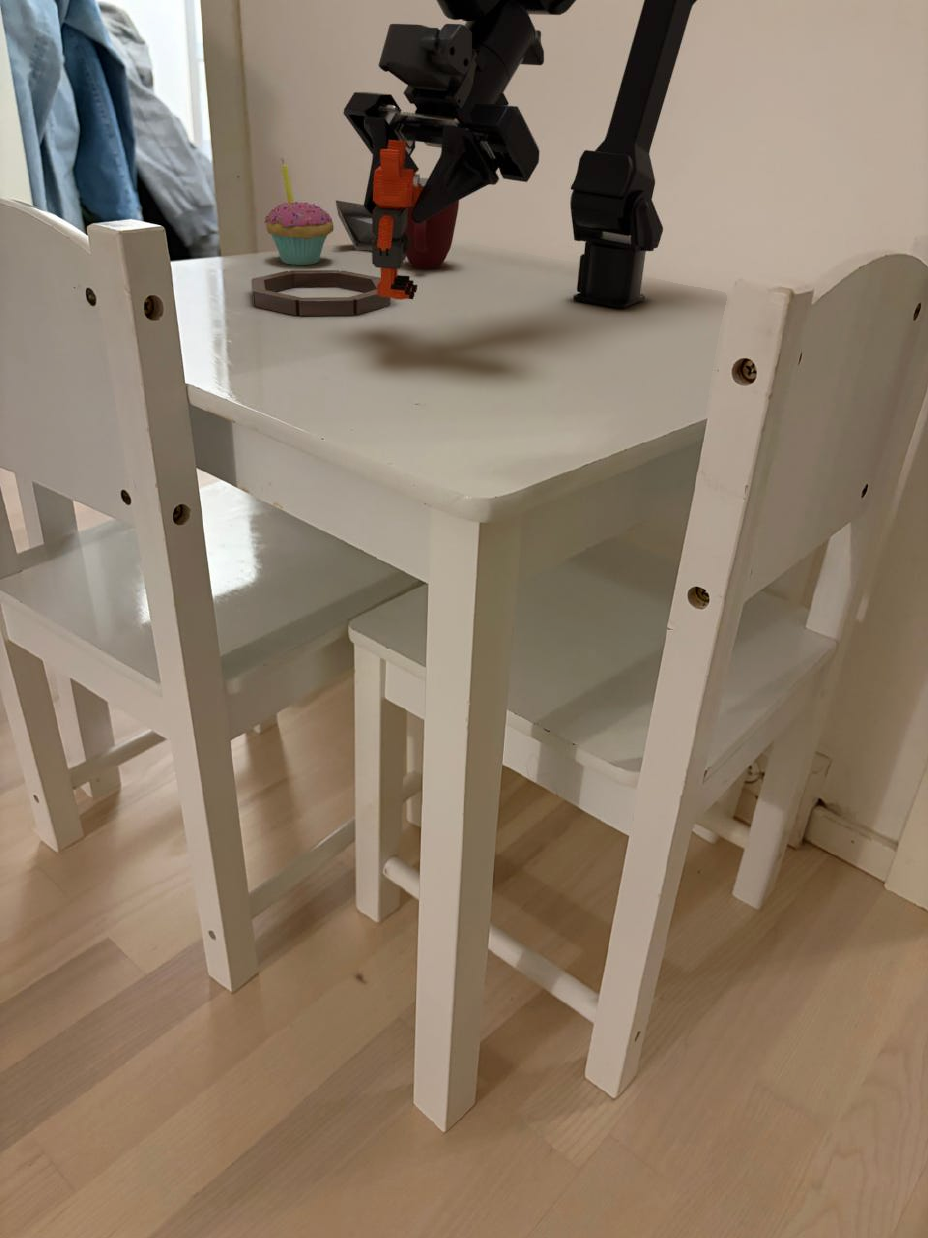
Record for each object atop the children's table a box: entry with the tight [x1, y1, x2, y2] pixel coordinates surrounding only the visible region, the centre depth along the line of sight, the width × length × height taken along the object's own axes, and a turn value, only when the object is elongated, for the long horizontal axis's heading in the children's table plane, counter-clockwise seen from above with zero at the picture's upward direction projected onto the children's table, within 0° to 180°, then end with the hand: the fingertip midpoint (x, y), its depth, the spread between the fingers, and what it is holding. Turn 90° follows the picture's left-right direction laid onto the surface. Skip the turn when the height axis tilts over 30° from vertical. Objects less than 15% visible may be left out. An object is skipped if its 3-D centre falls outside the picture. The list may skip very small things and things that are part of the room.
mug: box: [404, 177, 460, 270], centre depth 120 cm, size 11×8×10 cm
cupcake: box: [264, 157, 335, 266], centre depth 120 cm, size 9×8×12 cm
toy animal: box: [371, 140, 424, 301], centre depth 82 cm, size 8×6×12 cm
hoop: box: [250, 269, 391, 317], centre depth 105 cm, size 15×15×2 cm
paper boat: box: [335, 200, 376, 252], centre depth 129 cm, size 12×6×9 cm
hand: (390, 215), depth 81 cm, fingers closed on toy animal, 5 cm apart
